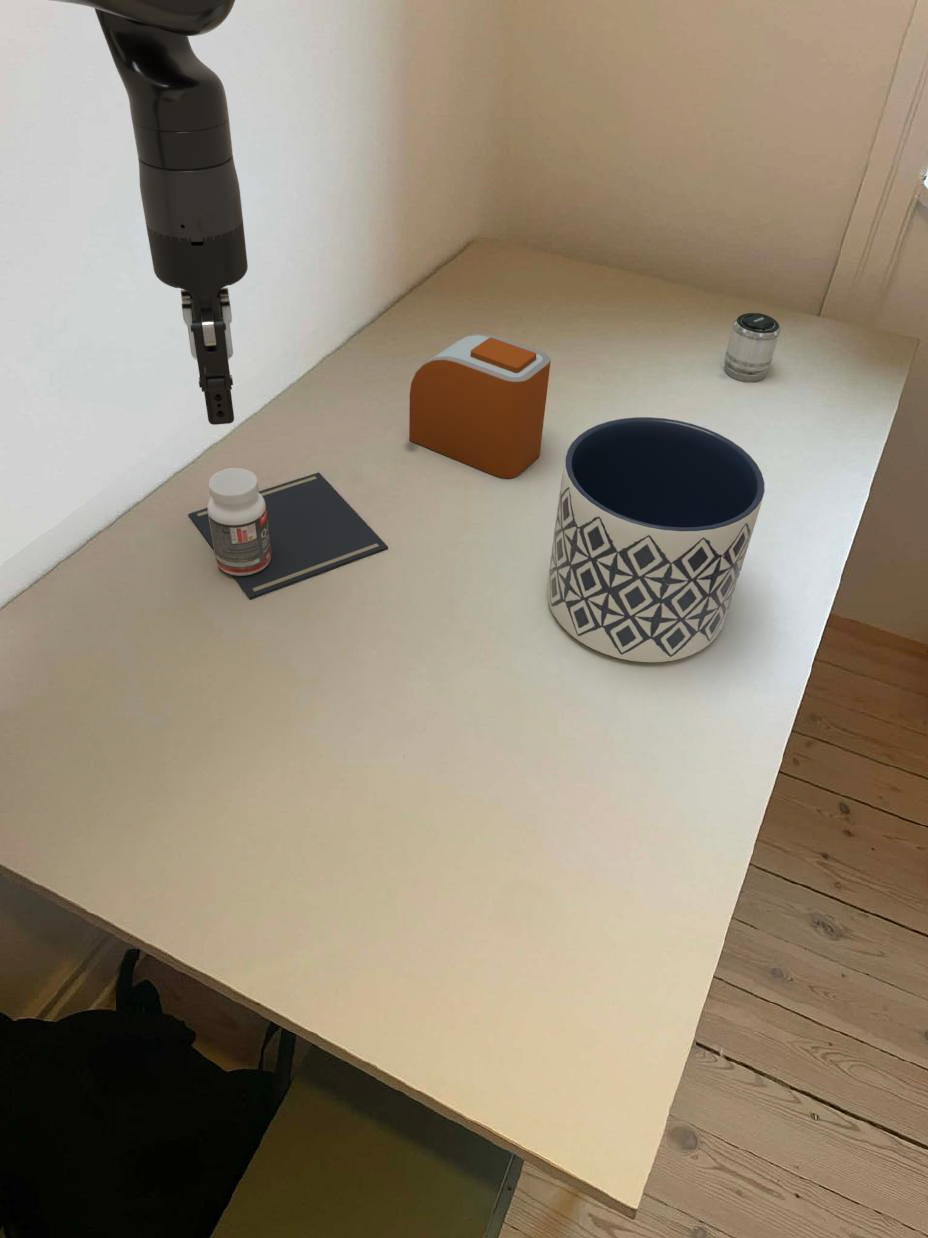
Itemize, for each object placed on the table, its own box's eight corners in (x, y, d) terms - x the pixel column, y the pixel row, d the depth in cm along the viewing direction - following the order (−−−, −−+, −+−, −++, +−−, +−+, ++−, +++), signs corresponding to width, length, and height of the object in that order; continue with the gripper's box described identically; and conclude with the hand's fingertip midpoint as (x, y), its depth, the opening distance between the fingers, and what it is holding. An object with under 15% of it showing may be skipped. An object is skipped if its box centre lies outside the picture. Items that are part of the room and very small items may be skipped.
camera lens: (712, 369, 136) (725, 316, 131) (740, 356, 139) (753, 304, 134) (749, 388, 133) (763, 334, 127) (776, 374, 136) (791, 321, 130)
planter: (743, 581, 102) (785, 449, 91) (694, 692, 90) (736, 556, 79) (583, 528, 108) (604, 398, 97) (517, 627, 96) (533, 490, 84)
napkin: (249, 599, 97) (249, 597, 97) (188, 515, 106) (187, 513, 106) (388, 548, 104) (388, 546, 104) (319, 474, 113) (318, 471, 113)
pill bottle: (279, 569, 100) (270, 491, 93) (224, 583, 98) (211, 504, 91) (262, 537, 104) (253, 459, 97) (210, 550, 102) (196, 471, 95)
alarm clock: (547, 451, 119) (559, 349, 110) (511, 483, 114) (520, 379, 104) (447, 411, 125) (451, 312, 115) (408, 440, 119) (409, 338, 110)
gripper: (144, 185, 81) (174, 362, 92) (145, 253, 71) (178, 443, 82) (236, 182, 82) (254, 356, 93) (249, 249, 72) (268, 436, 83)
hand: (218, 397), depth 88 cm, fingers open, 8 cm apart
